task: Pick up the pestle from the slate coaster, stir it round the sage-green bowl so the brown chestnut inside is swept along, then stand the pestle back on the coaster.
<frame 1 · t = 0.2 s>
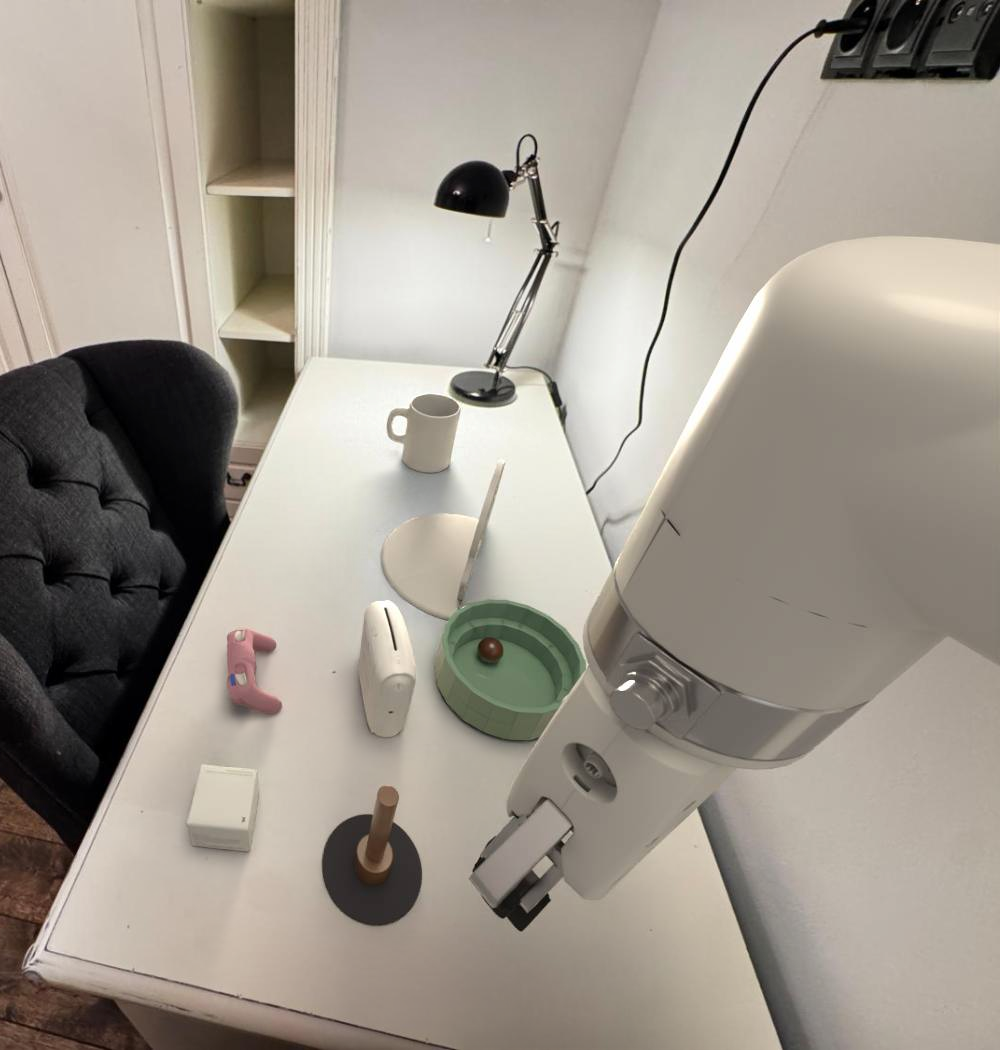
hand: (560, 841, 31), 24 cm above the table, tool pointing down, fingers open, 9 cm apart
small box: (227, 819, 55), on the table
pestle: (371, 865, 51), resting on coaster
video game controller: (254, 681, 67), on the table
coaster: (371, 867, 52), on the table
bowl: (500, 682, 67), on the table
chestnut: (490, 650, 68), point 2 cm above the table, touching bowl
photo printer: (379, 698, 65), on the table
ornament: (427, 556, 83), on the table
mug: (416, 458, 103), on the table
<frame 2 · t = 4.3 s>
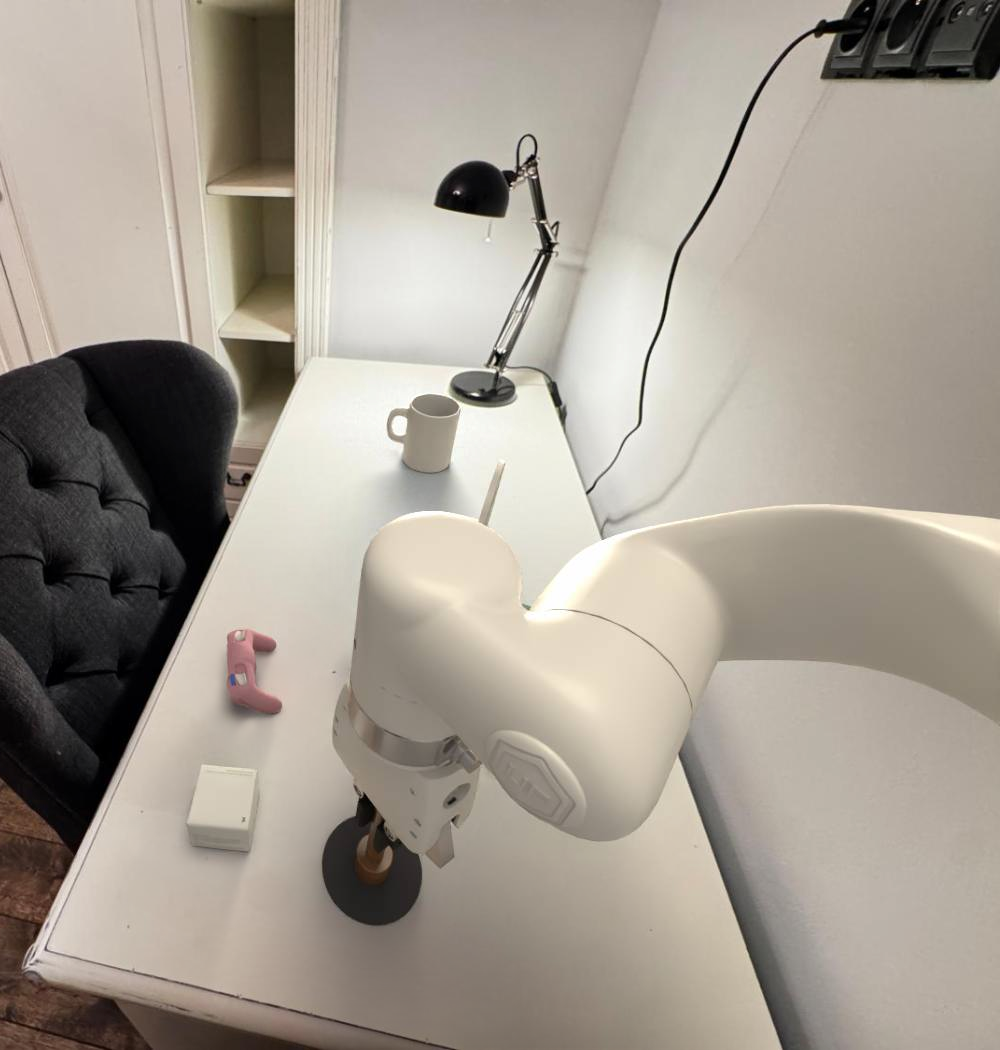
hand: (381, 826, 46), 9 cm above the table, tool pointing down, fingers closed on pestle
pestle: (371, 865, 51), resting on coaster, touching gripper
everything else where it was.
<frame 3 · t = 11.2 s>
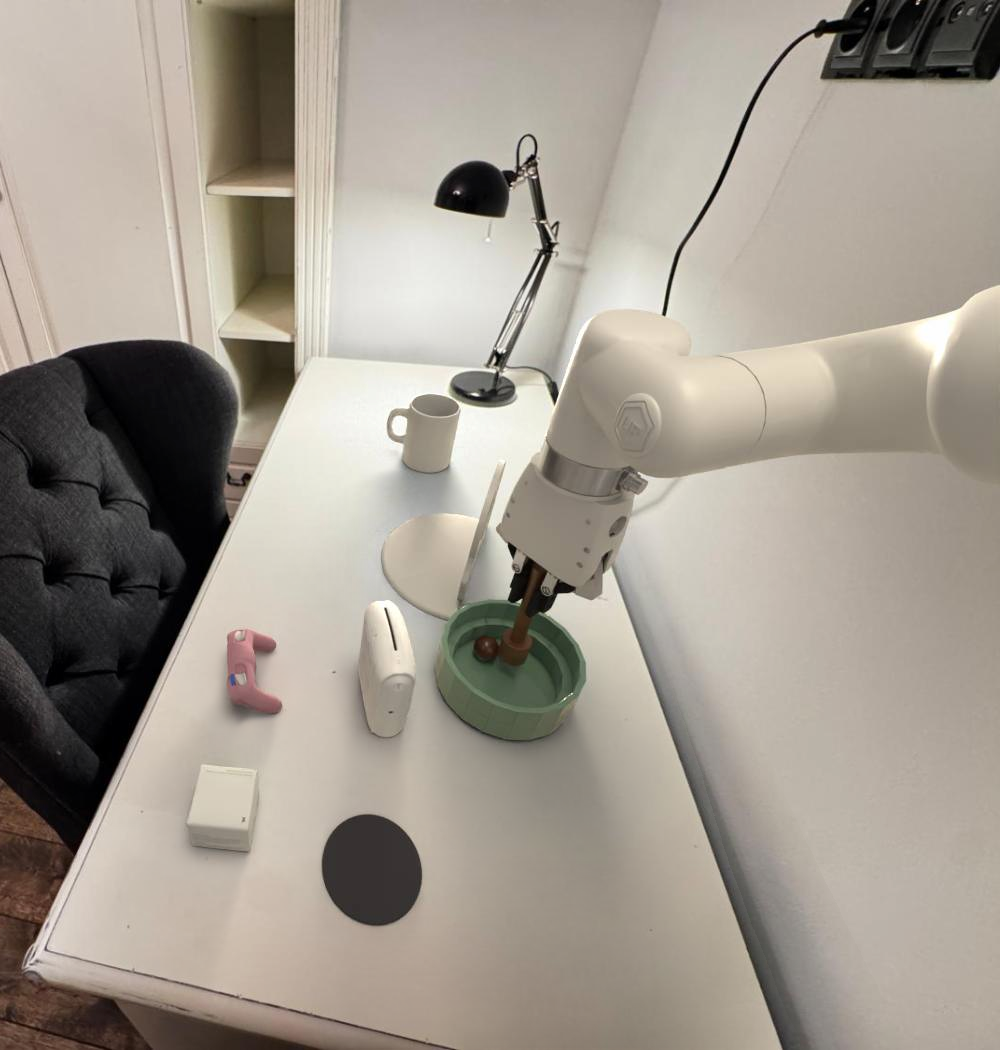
hand: (527, 603, 61), 11 cm above the table, tool pointing down, fingers closed on pestle
pestle: (511, 655, 66), point 3 cm above the table, touching chestnut, gripper
chestnut: (486, 648, 68), point 2 cm above the table, tilted 19°, touching bowl, pestle
everything else where it was.
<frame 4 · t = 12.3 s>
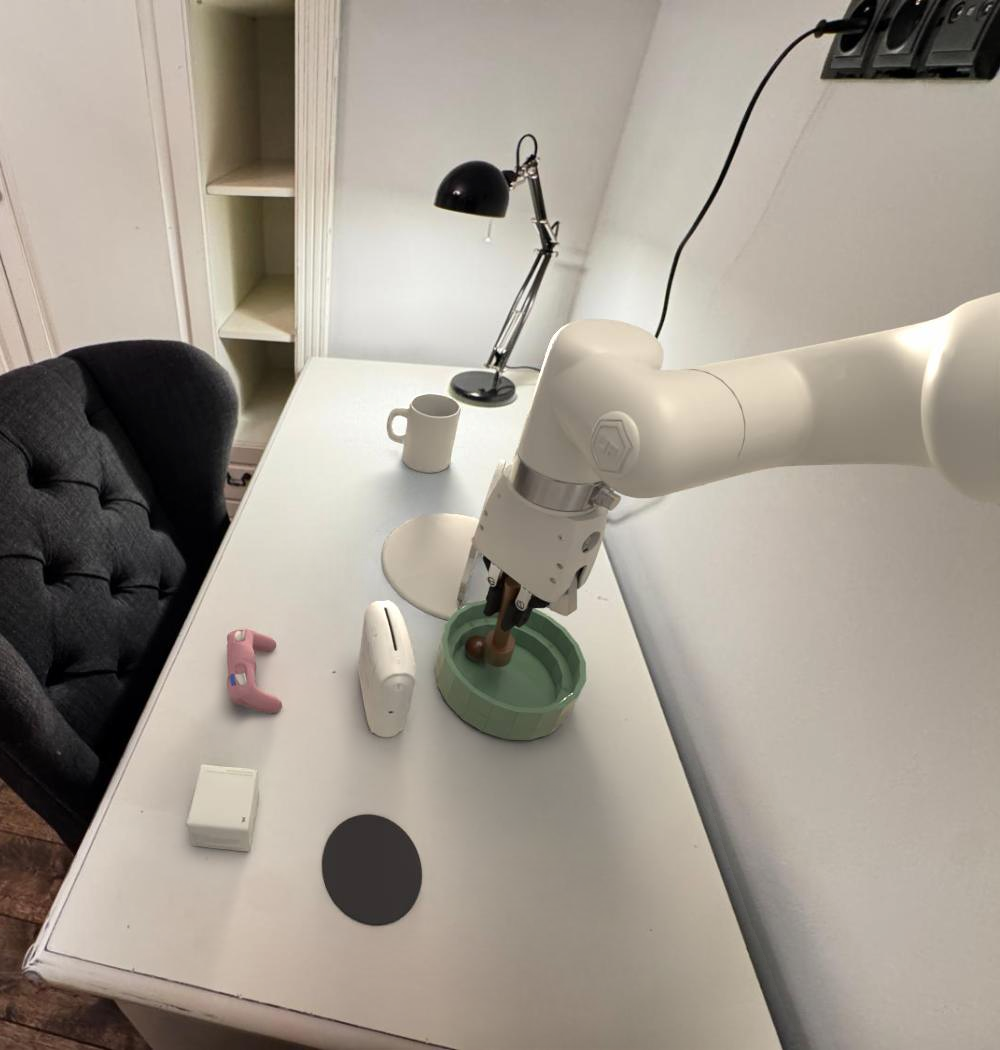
hand: (503, 616, 59), 11 cm above the table, tool pointing down, fingers closed on pestle
pestle: (496, 655, 66), point 3 cm above the table, tilted 10°, touching chestnut, gripper
chestnut: (477, 648, 68), point 2 cm above the table, tilted 52°, touching bowl, pestle
everything else where it was.
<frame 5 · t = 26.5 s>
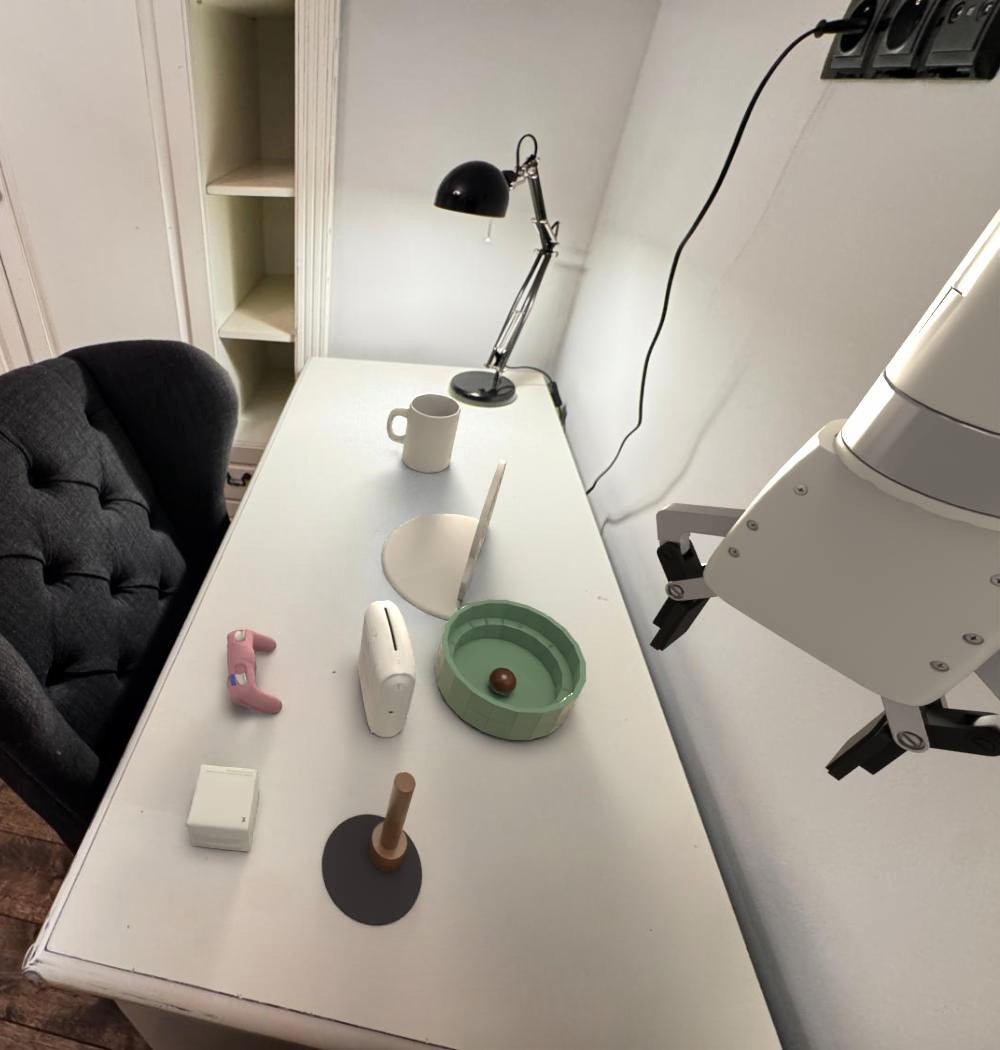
hand: (746, 694, 33), 28 cm above the table, tool pointing down, fingers open, 9 cm apart
pestle: (386, 852, 52), resting on coaster
chestnut: (502, 681, 64), point 2 cm above the table, tilted 85°, touching bowl
everything else where it was.
at the end: chestnut moved 4.3 cm from its start; chestnut inside the target area in the bowl (1.4 cm from its centre), point 2.1 cm above the bowl's base; pestle 1.7 cm off-centre on the coaster, point 0.4 cm above the coaster's base; pestle tilted 0° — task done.
